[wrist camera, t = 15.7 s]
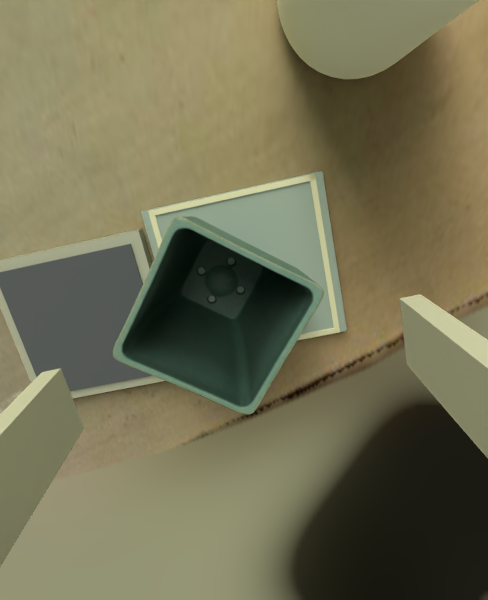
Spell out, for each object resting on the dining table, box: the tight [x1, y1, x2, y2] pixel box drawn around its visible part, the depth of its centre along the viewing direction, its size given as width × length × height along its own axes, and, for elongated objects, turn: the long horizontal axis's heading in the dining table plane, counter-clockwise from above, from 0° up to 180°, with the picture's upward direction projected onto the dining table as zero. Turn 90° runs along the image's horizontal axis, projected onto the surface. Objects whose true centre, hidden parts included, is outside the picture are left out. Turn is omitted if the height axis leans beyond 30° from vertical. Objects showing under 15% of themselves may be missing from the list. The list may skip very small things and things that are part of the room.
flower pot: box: [113, 216, 324, 415], centre depth 26 cm, size 9×9×9 cm
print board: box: [141, 171, 347, 340], centre depth 31 cm, size 13×12×1 cm
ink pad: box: [0, 228, 165, 398], centre depth 32 cm, size 12×12×1 cm
